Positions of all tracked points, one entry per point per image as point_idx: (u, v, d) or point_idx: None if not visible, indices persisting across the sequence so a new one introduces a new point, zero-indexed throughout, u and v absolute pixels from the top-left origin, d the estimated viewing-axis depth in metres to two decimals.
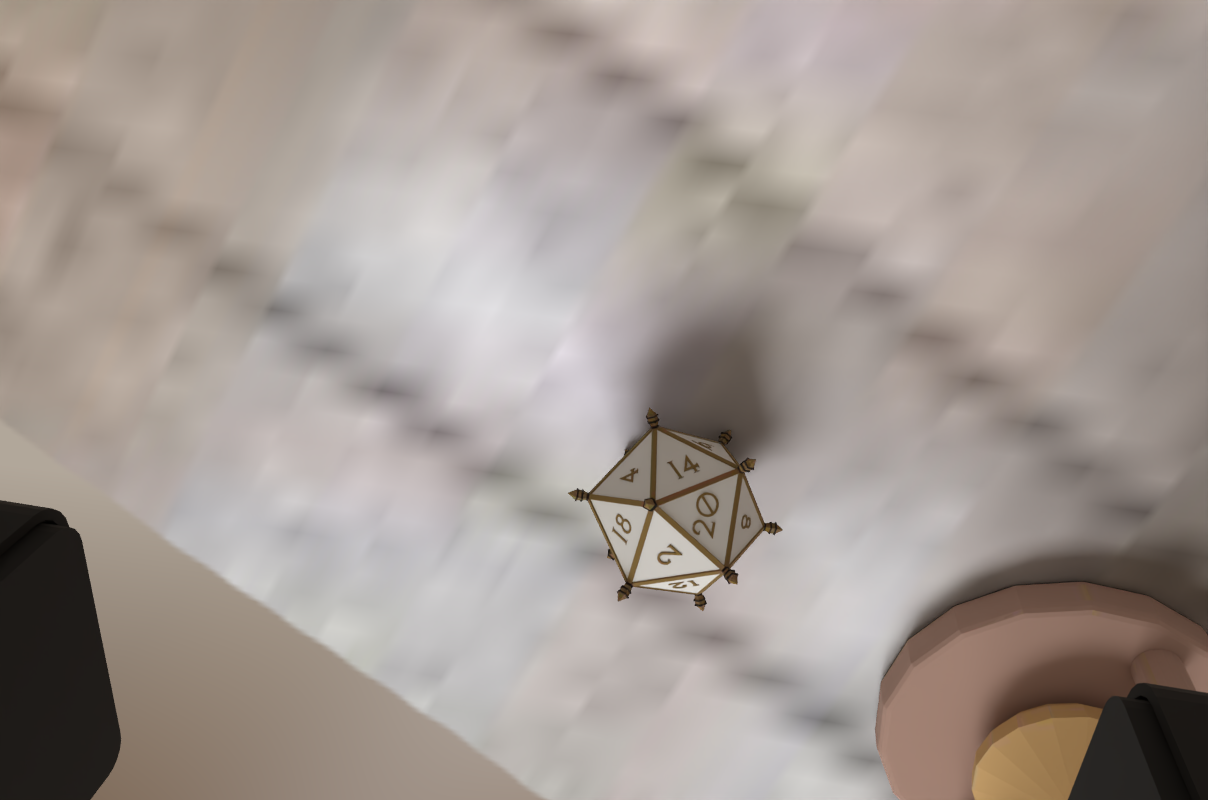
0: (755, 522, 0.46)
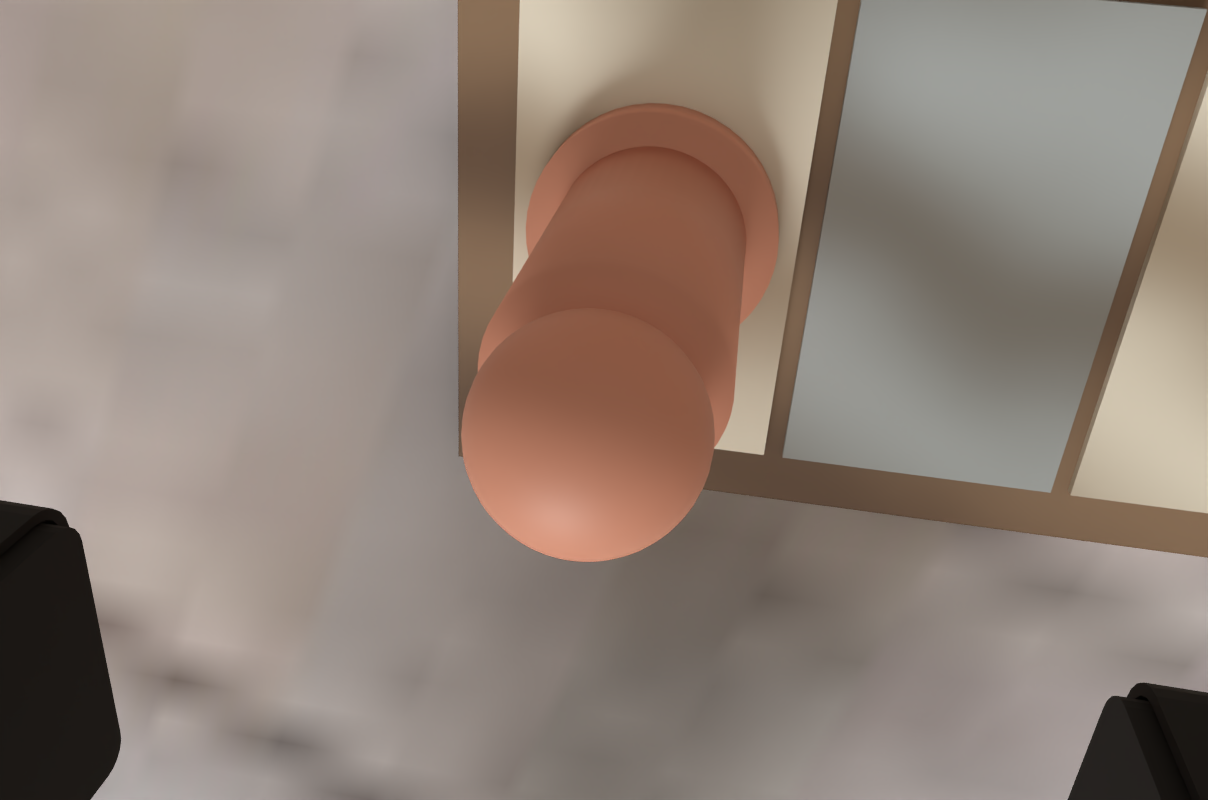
0: None
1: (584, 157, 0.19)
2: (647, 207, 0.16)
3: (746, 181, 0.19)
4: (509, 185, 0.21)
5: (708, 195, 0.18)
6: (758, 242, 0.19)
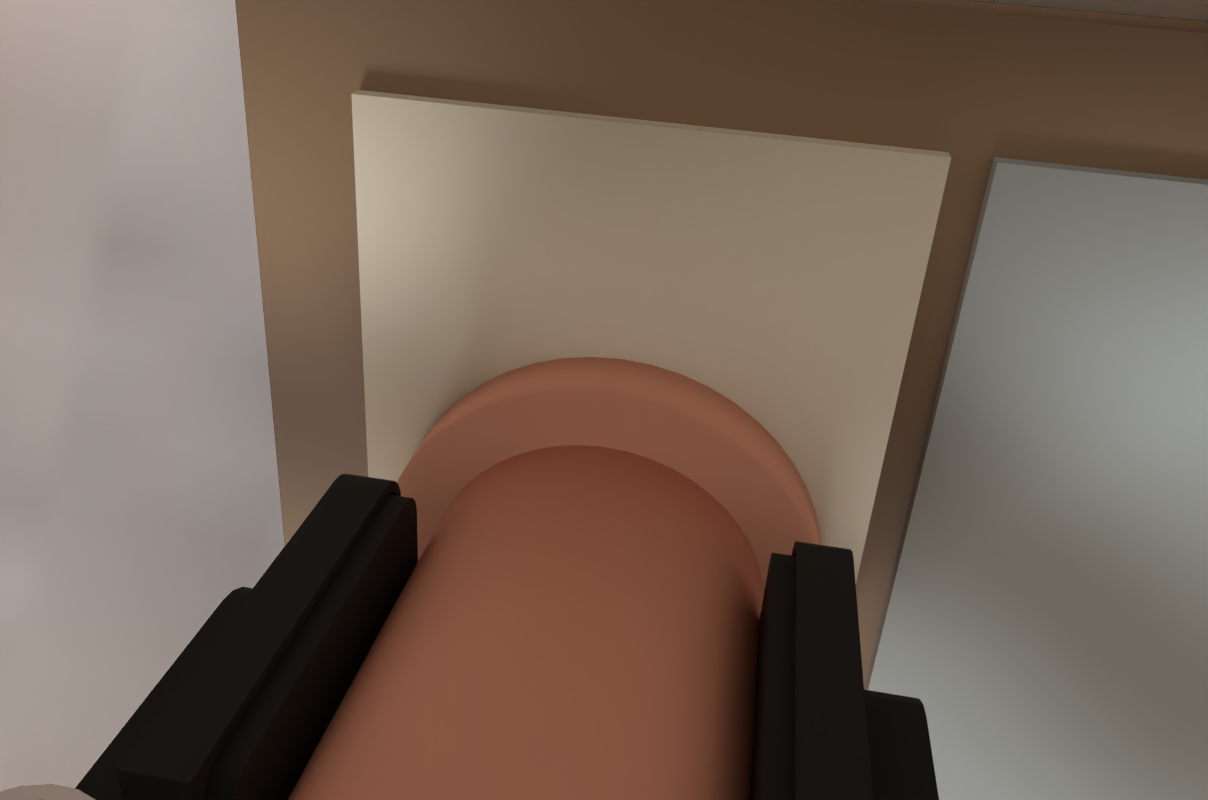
0: None
1: (472, 457, 0.11)
2: (549, 696, 0.07)
3: (765, 510, 0.10)
4: (360, 470, 0.12)
5: (691, 584, 0.09)
6: None
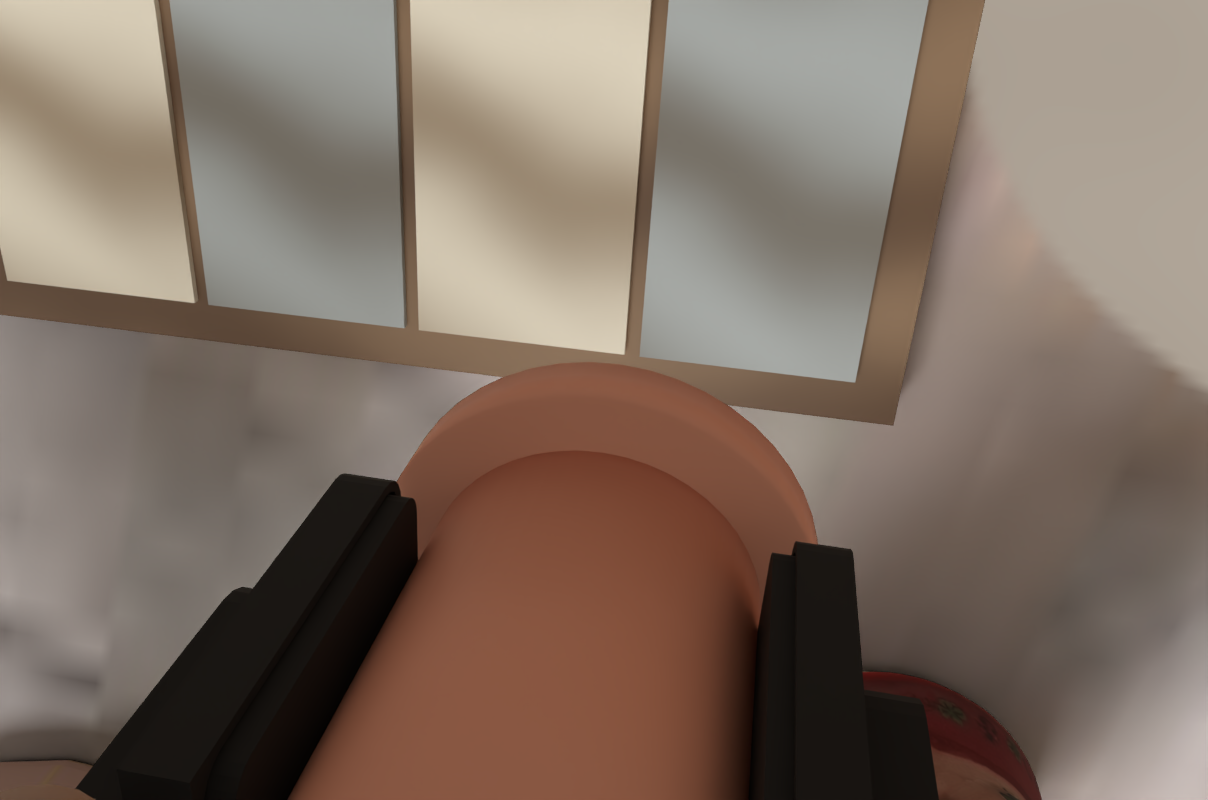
0: None
1: (469, 462, 0.11)
2: (544, 705, 0.07)
3: (762, 516, 0.10)
4: None
5: (687, 590, 0.09)
6: None
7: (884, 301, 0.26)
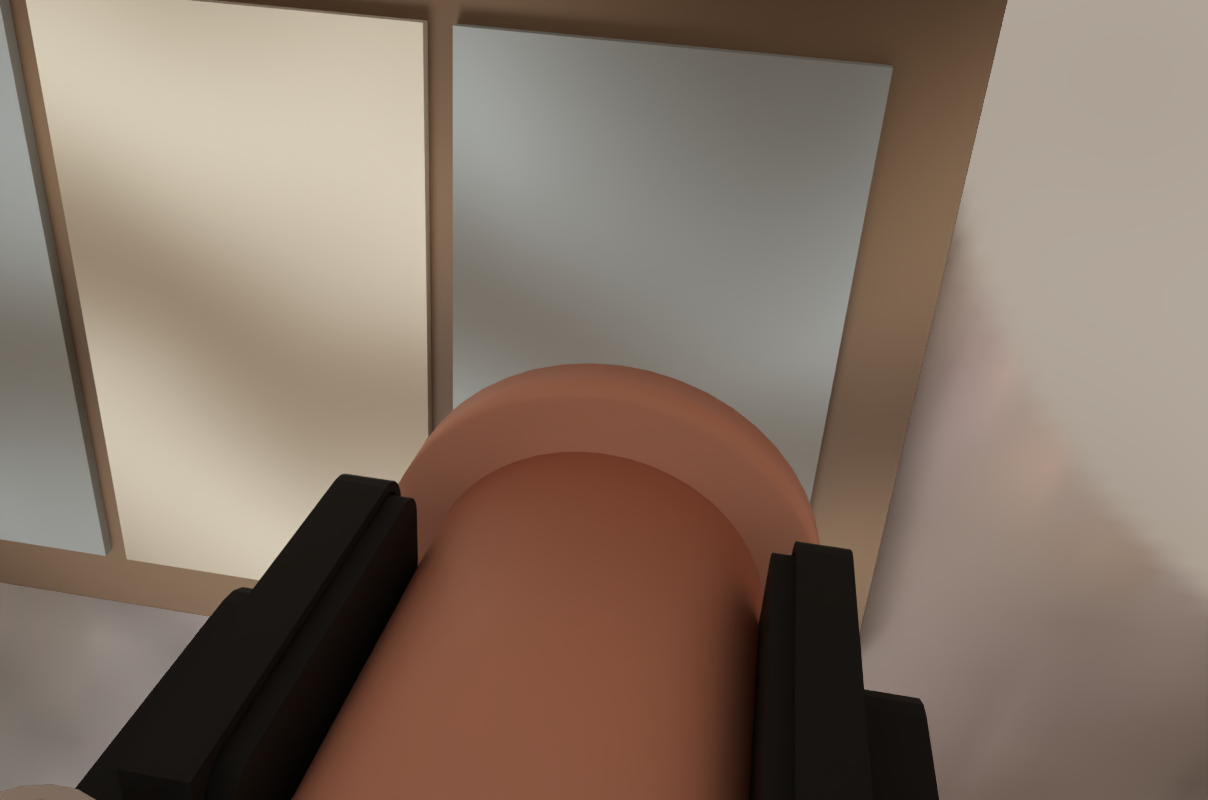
0: None
1: (471, 464, 0.11)
2: (547, 707, 0.07)
3: (764, 517, 0.10)
4: None
5: (690, 591, 0.09)
6: None
7: None
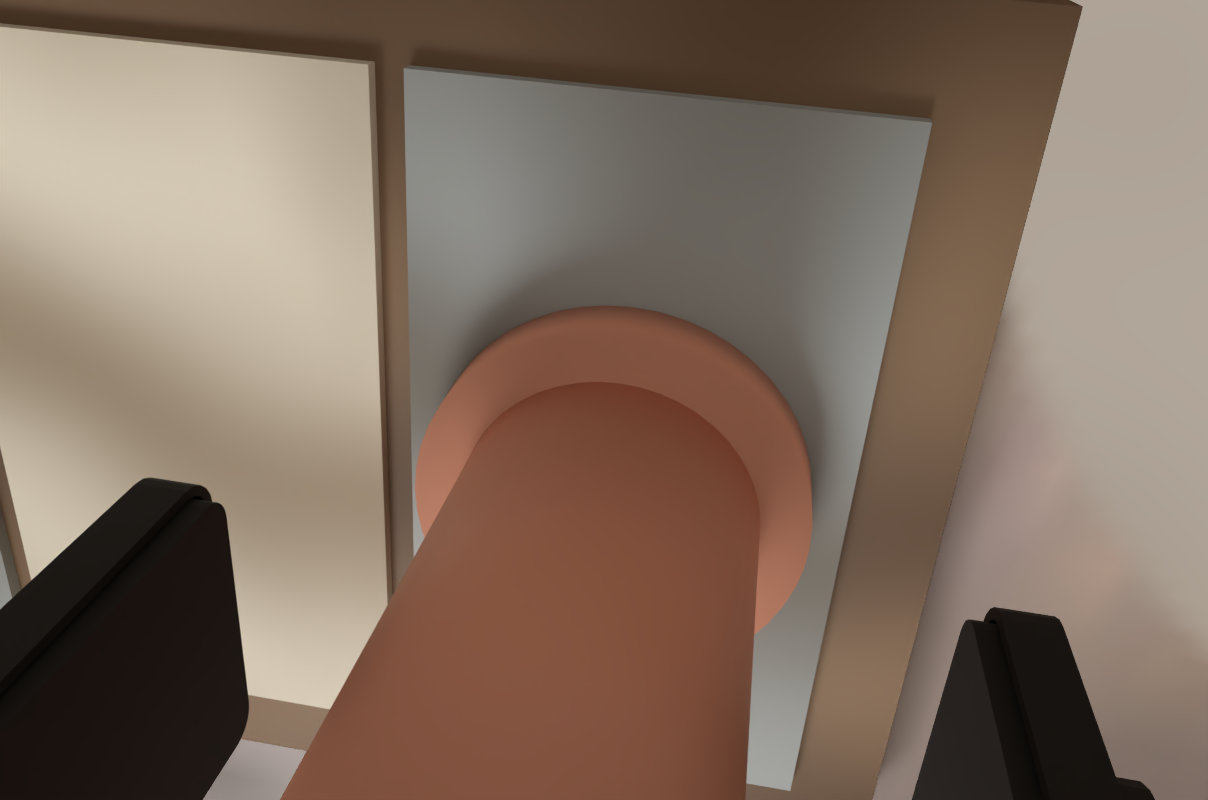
0: None
1: (501, 394, 0.12)
2: (577, 572, 0.09)
3: (761, 439, 0.12)
4: None
5: (696, 494, 0.10)
6: (779, 527, 0.12)
7: (841, 668, 0.14)
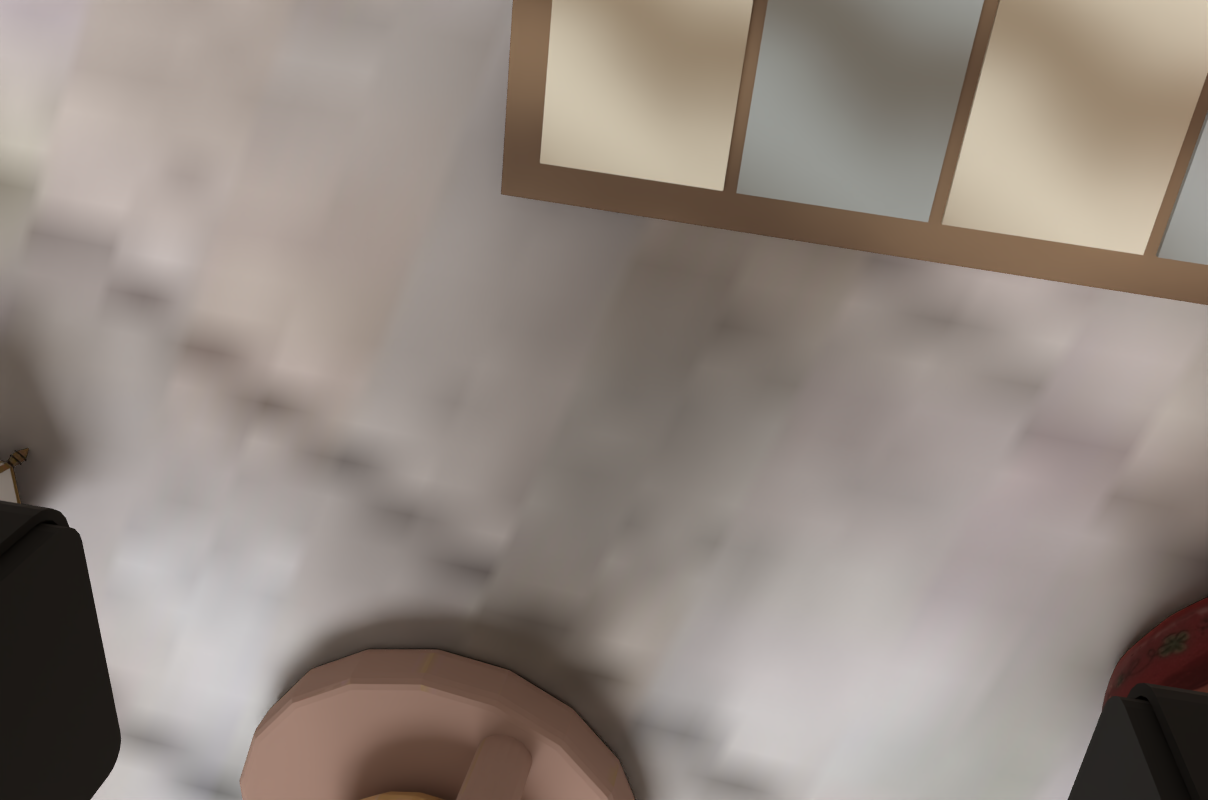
0: None
1: None
2: None
3: None
4: None
5: None
6: None
7: None
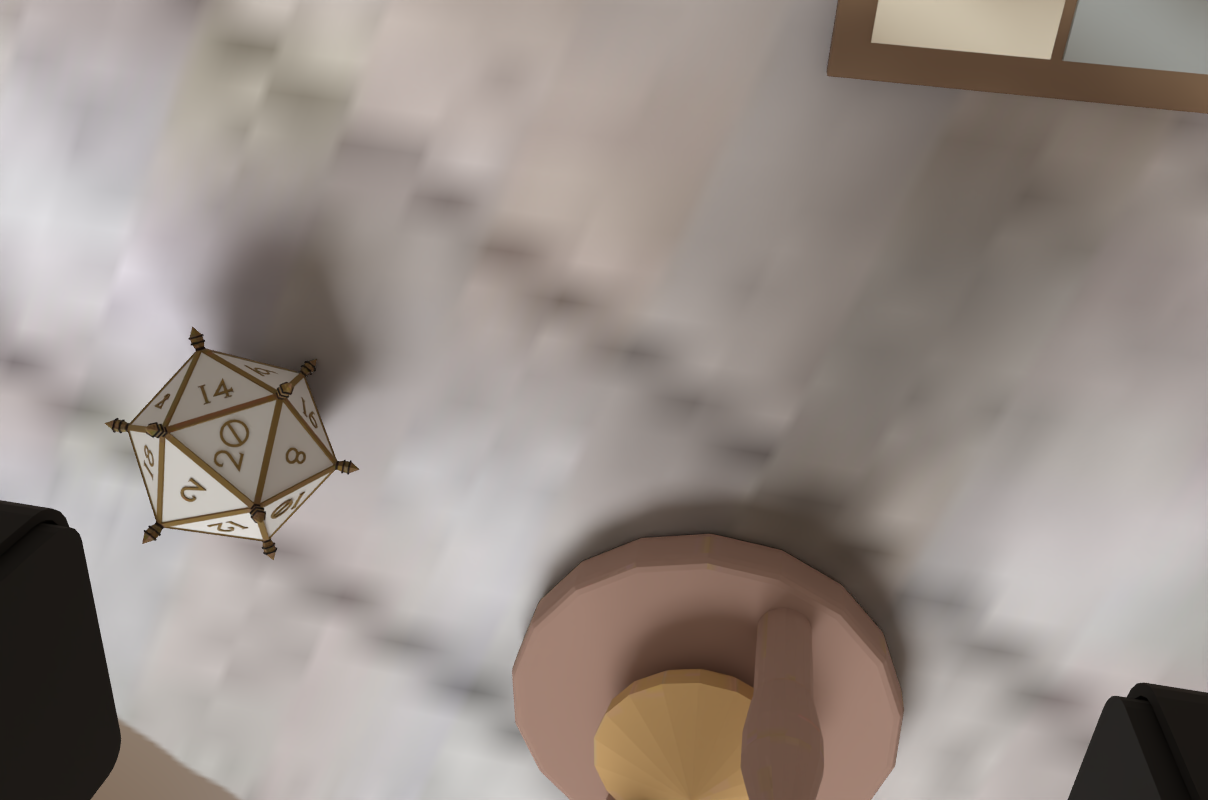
0: (317, 459, 0.41)
1: None
2: None
3: None
4: None
5: None
6: None
7: None
